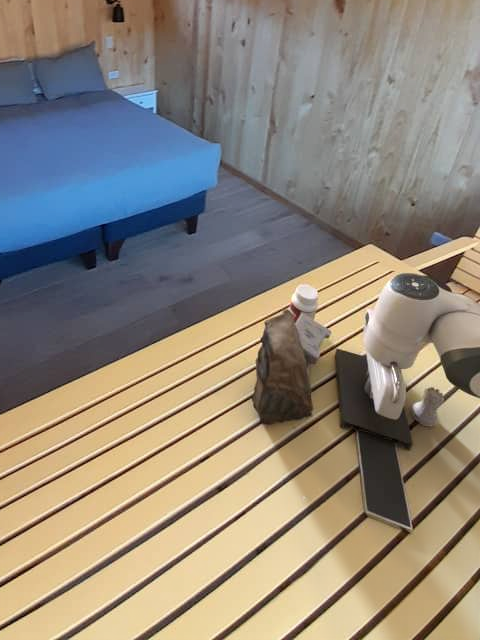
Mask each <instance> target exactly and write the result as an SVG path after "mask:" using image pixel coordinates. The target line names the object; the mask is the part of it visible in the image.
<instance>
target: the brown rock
mask: <svg viewBox="0 0 480 640" xmlns="http://www.w3.org/2000/svg"><path fill="white" fill-rule="evenodd" d="M259 339H260V342H261V346H260V348H259V349H258V352H257V357H256V359H255V360H254V361H255V374H256V382H255V384H254V387H253V389H254V390H253V396H252V397H251V400H252V401H251V402H252V404H253V408H254V409H255V410H256V412H257V414H258V417H259V421H260V423H261V424H263V425H267V426H269V425H274V424H276V423H280V422H281V423H280V424H282V422H283V423H285V422H290V421H301V420H304V419H306V418H309V416H310V417H312V416H313V411H314V409H315V408H314V404H313V396H312V394H313V390H312V386H311V380H310V375H309V371H308V370H309V368H308V369H307V365H306V359H305V354H304V350H303V347H302V344H301V341H300V337H299V334H298V330H297V327H296V325H295V322H294V319H293V316H292V314H291V312H290V311H289V308H286V309H284V310H283V311H282V313H281V314H278V315H275V316H273V317H271V318H269V319H267V320H265V321H264V330H263V332H262V336H261V337H260V338H259ZM311 415H312V416H311ZM305 417H306V418H305ZM284 421H285V422H284ZM275 422H276V423H275Z"/></svg>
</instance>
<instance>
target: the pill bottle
mask: <svg viewBox="0 0 480 640" xmlns="http://www.w3.org/2000/svg"><path fill="white" fill-rule="evenodd" d="M318 299H319V292H318V290H317V289H316V288H315V287H314V286H311V285H309V284H299V285H297V287H296V289H295V292H294V293H293V294H292V296H291V300H290V303H289V307H288V310H289V311H290V312H291V314H292V316H293V319H294V322H295V323H296V322H297V320H298V318H299V317H300V315H301V314H305V315H306V316H308V317H309V318H311V319H313V320H314V321H315V318H316V314H317V310H318V307H319V303H318V301H319V300H318Z"/></svg>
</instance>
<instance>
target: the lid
mask: <svg viewBox="0 0 480 640" xmlns="http://www.w3.org/2000/svg"><path fill="white" fill-rule="evenodd" d="M334 365H335V366H334V367H335V375H336V388H337V398H338V411H339V412H338V413H339V422H341V423H339V424H340V428H341V427H342V428H341V429H344V428H345V426H346V424H349V425H351V426H354V427H356V428H359V429H362V430H365V431H368V432H371V433H374V434H377V435H380V436H383V437H386V438H389V439H392V440H395V441H399V442H402V443H404V445H405V450H406V451H411V449H412V447H413V445H414V442H413V437H412V434H411V428H410V425H409V421H408V416H407V411H406V408H405V405H404V406H403V409H402V412H401V414H400V417H399V418H398V419H396V420H395V419H390V418H387V417H384V416H382V415H379V414H378V413H377V412H376V410H375V405H374V399H372V398H370V396H369V389H370V386H371V380H370V376H369V378H368V380H367V376H366V374H367V372H368V361H367V356H366V355H361V354H358V353H355V352H351V351H348V350H344V349H341V348H336V349H335V352H334ZM371 387H372V386H371Z"/></svg>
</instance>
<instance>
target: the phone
mask: <svg viewBox="0 0 480 640" xmlns="http://www.w3.org/2000/svg"><path fill="white" fill-rule="evenodd" d="M354 437H355V446H356V453H357V462H358V470H359V479H360V487H361V496H362V504H363V514H364V516H367V517H369V518H372V519H373V520H377V521H379V522H382V523H385V524H386V525H389V526H392V527H394V528H397V529H398V530H399V529H400V530H402V531H405V532H408V534H409V533H410V534H413V532H414V528H413V522H412V518H411V513H410V512H411V511H410V507H409V502H408V498H407V492H406V487H405V482H404V478H403V477H404V476H403V473H402V472H403V471H402V467H401V462H400V458H399V457H400V455H399V452H398V447H397V442H396V441H397V440H396V439H393V438H390V437H387V436H384V435H381V434H378V433H375V432H372V431H369V430H366V429H363V428H360V427H355V429H354Z"/></svg>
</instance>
